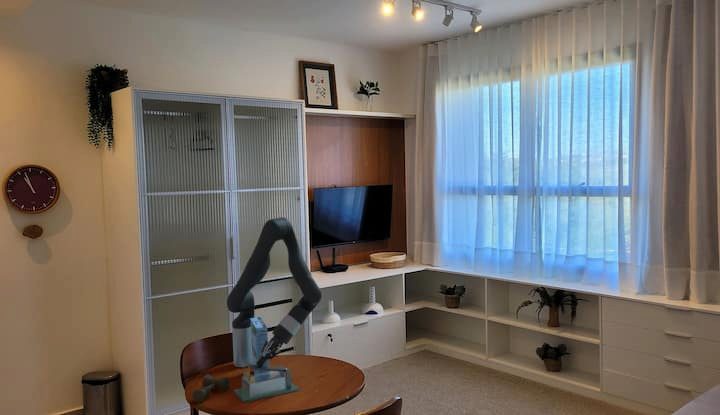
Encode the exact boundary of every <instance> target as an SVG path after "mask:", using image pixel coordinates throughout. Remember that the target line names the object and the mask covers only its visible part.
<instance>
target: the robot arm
mask: <svg viewBox="0 0 720 415" xmlns="http://www.w3.org/2000/svg"><path fill="white" fill-rule="evenodd" d="M281 240H282V241H283V242H284V245H285V246H286V249H287V250H286V251H287V255H288V257H287V260H288V261H287V262H288V268H289V271H290V273H291V276H292V278H293V279H294V281H295V283H296V284H297V286H298V287H299V288H300V291H301V293H302V297H301V298H300V299H299V300H298V302H297V303H296V304H295V305H294V306H293V307H292V308H291V309H290V310H289V312H288V313H287V314H286V315H285V316H284V317H283V318H282V319H281V321H280V322H279V323H277V326H276V327H275V328H274V329H273V330H272V335H273V336H272V338H270V340H268V341H265V343H264V346H263V348H262V351H261V353H262V356H261V357H260V358H259V360H258V361H257V362H256V364H257V365H258V366H259V367H262V365H263V364H264V363H265V361H266V360H268V359H269V361H270V360H272V359H273V358H275V357H277V356H278V355H279V354H281V352H282V350H281V348H282V346H283V345H288V344H289V343H290V341H292V339H293V338H294V336H295V335H296V334H297V332H298V331H299V329H300V328H301V326H302V325H303V323H304V322H306V320H307V318H308V316H309V315H310V314H311V313H312V312H313V311H314V309H315V308H316V307H317V306H318V305H319V303H320V302H321V300H322V297H323V296H322V295H323V294H322V291H321V289H320V287H319V285H318V284H317V282H316V281H315V278H313V276H312V273H311V271H310V268H308V265H307V264H306V261H305V260H304V257H303V254H302V252H301V249H300V245H299V242H298V238H297V237H296V233H295V231H294V228H293V225H292V223H291V221H290V220H289V219H288V217H287V218H286V217H275V218H270V219H268V220H267V221H266V222H265V223H264V225H263V227H262V228H261V232H260V235H259V237H258V240H257V243H256V245H255V247H254V249H253V251H252V253H251V255H250V257H249V259H248V261H247V263H246V265H245V267H244V269H243V271H242V273H241V275H240V277H239V279H238V280H237V282H236V284H235V285H234V287H233V288H232V290H231V291H230V292H229V295H228V296H227V300H226V307H227V309H228V311H229V312H230V313H234V314H238V313H239V314H238V315H237V317H235V318H234V319H233V320H232V321H231V327H232V330H231V331H232V348H233V349H232V350H233V351H232V352H233V365H234V367H237V368H247V367H246V366H247V364H250V365H253V357H252V339H251V323H250V318H255V306H256V305H255V297H254V294H253V292H252V291H251V290H252V289H254V287H255V286H257V285H258V284H259V283H260V282H261V281H262V280H263V279H264V277H265V276H266V274H267V272H268V271H269V268H270V265H271V255H270V254H271V253H270V252H271V250H272V248H273V247H274V246H275V243H276V242H277V241H281Z"/></svg>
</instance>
